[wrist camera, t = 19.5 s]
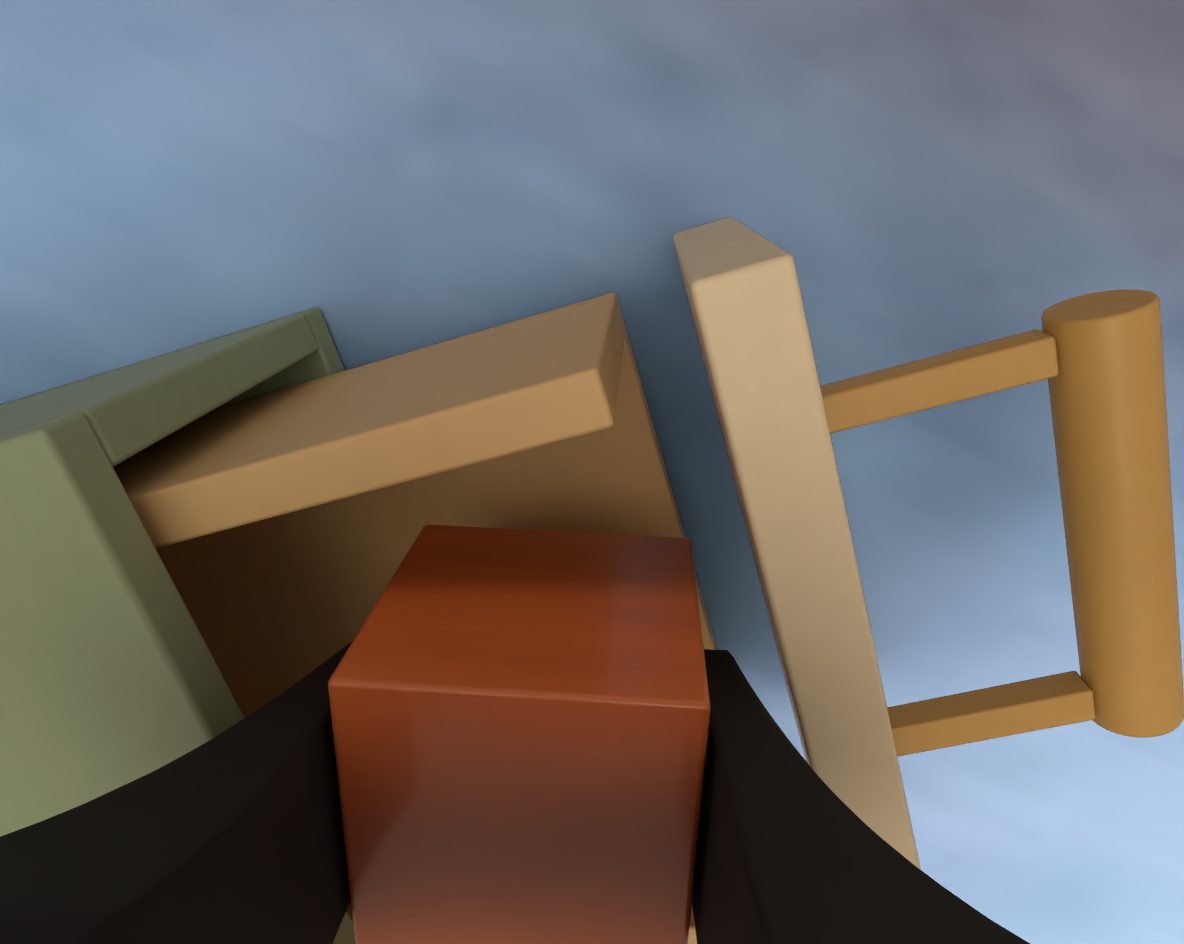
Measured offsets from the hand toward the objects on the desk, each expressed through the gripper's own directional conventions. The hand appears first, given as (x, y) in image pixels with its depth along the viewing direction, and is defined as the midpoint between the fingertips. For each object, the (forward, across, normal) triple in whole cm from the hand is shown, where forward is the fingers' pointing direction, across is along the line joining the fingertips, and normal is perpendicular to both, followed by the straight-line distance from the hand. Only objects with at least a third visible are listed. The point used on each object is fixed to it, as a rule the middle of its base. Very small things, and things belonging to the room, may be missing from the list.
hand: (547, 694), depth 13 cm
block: (+1, 0, 0) cm, 1 cm away
